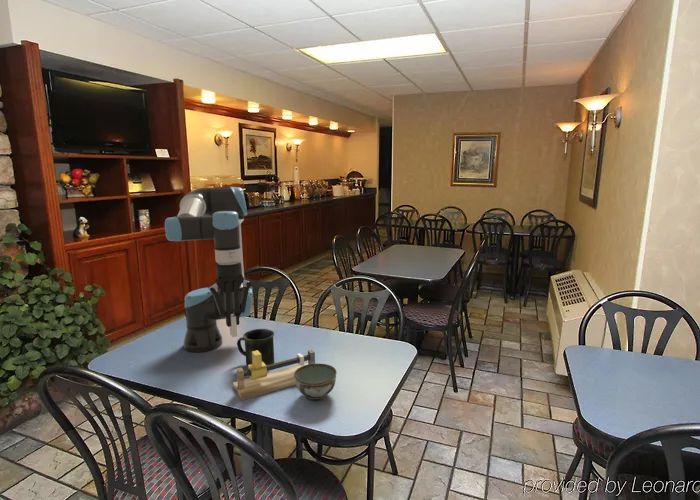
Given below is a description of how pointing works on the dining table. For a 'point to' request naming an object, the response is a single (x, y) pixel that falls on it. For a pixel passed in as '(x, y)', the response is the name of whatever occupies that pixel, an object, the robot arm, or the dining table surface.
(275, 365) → the rod
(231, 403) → the dining table surface
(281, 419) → the dining table surface
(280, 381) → the wooden slider rail
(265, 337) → the mug
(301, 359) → the band
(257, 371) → the sleeve
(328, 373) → the bowl
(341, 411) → the dining table surface
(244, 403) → the dining table surface
